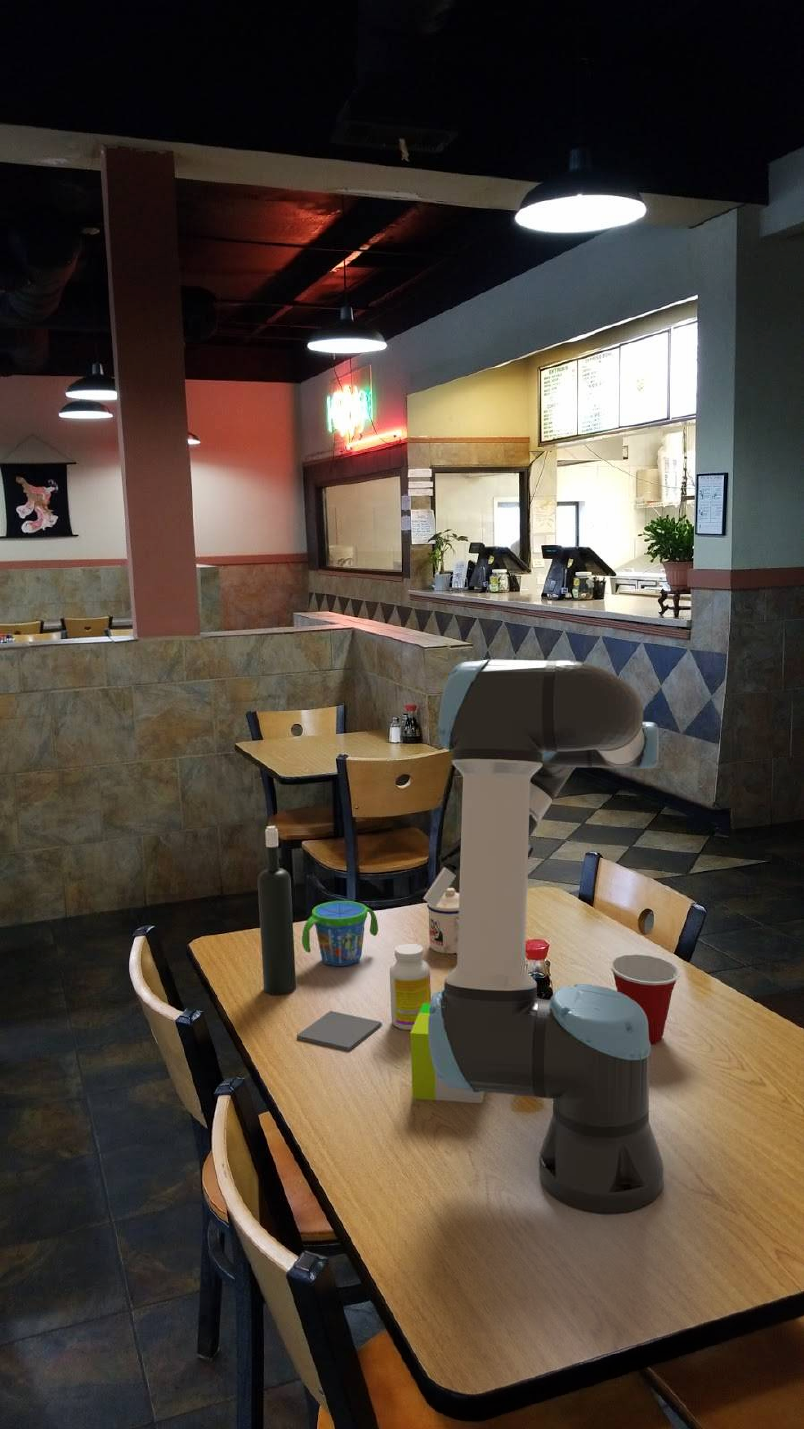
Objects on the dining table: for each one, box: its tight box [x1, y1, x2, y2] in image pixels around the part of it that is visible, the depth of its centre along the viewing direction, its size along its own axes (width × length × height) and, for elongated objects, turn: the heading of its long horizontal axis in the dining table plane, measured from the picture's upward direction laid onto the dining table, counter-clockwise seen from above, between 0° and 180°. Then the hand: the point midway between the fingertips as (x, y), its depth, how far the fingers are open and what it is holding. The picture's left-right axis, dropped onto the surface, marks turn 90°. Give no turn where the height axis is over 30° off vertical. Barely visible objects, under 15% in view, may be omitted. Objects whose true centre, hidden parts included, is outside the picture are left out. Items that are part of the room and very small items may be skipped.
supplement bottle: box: [389, 943, 432, 1031], centre depth 177 cm, size 7×7×13 cm
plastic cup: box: [609, 953, 682, 1046], centre depth 169 cm, size 11×11×12 cm
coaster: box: [296, 1010, 383, 1052], centre depth 176 cm, size 10×10×1 cm
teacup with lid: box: [426, 887, 459, 955], centre depth 209 cm, size 12×9×12 cm
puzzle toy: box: [409, 1003, 486, 1104], centre depth 157 cm, size 10×10×10 cm
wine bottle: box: [257, 825, 297, 996], centre depth 191 cm, size 6×6×30 cm
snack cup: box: [301, 900, 379, 967], centre depth 205 cm, size 16×10×10 cm
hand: (451, 915), depth 179 cm, fingers open, 13 cm apart
